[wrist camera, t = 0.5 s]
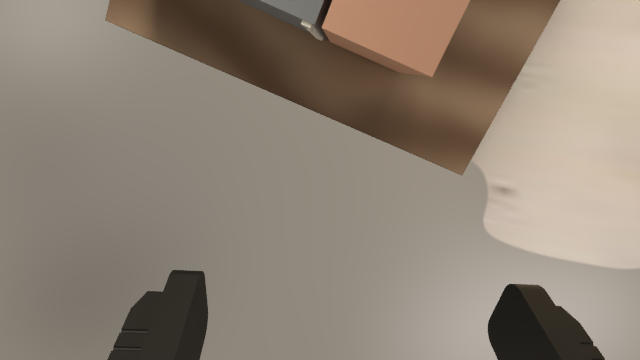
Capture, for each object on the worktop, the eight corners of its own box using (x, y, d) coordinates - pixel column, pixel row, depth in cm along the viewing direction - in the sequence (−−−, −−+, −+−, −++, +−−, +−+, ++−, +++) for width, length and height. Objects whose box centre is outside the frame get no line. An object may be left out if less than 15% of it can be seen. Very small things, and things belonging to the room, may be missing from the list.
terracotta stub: (356, -24, 29) (364, -81, 18) (429, 9, 29) (482, -26, 18) (330, 41, 31) (321, 27, 19) (399, 72, 31) (432, 77, 19)
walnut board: (168, -197, 28) (159, -211, 27) (558, -12, 30) (569, -16, 29) (115, 22, 33) (105, 20, 31) (457, 170, 35) (461, 175, 33)
